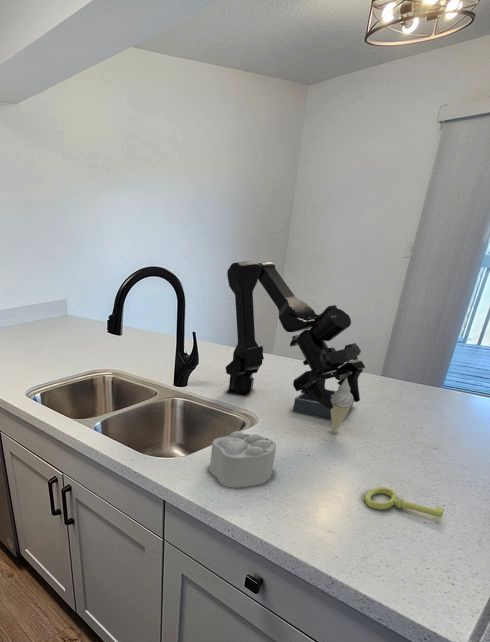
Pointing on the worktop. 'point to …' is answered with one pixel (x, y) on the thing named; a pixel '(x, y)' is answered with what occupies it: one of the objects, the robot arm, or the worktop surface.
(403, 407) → the worktop surface
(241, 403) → the worktop surface
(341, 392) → the ice cream cone
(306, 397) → the tub
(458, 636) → the worktop surface
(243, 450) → the lumpy-topped squat cylinder
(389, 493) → the key
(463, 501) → the worktop surface
